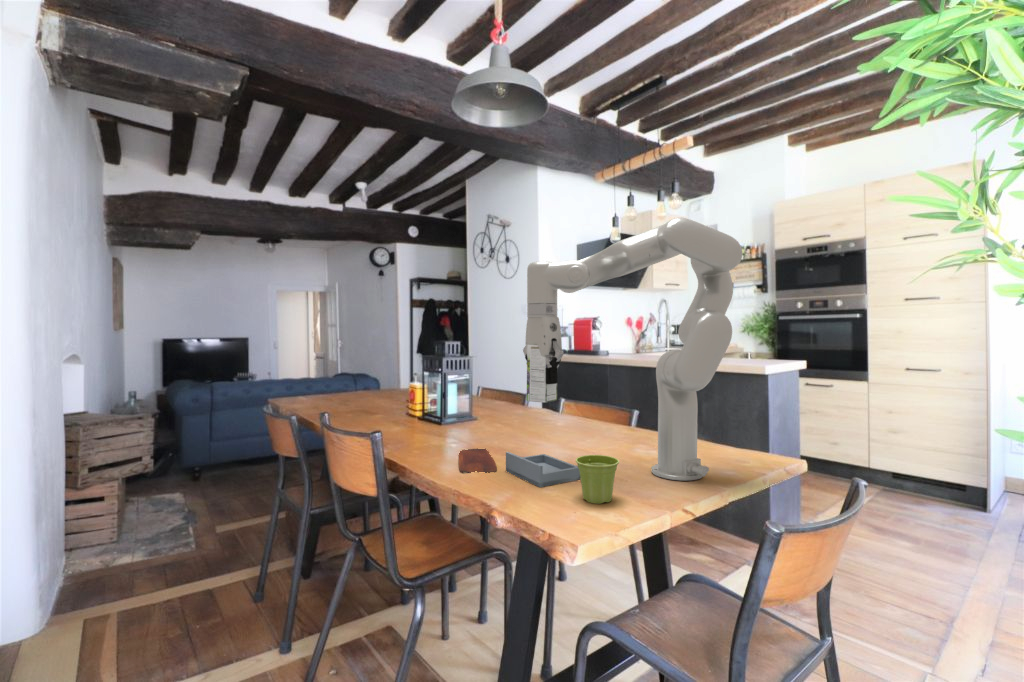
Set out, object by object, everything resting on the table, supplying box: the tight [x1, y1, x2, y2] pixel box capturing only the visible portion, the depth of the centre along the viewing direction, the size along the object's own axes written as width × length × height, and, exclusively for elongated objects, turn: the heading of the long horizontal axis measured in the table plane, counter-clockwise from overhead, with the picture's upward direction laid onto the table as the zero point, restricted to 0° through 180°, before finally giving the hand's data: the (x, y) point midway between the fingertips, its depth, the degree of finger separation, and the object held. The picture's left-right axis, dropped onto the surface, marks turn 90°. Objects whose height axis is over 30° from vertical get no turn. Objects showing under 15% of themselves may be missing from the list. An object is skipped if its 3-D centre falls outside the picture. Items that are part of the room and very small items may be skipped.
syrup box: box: [526, 344, 559, 404], centre depth 128 cm, size 6×6×14 cm
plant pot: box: [575, 454, 620, 505], centre depth 111 cm, size 9×9×9 cm
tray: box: [505, 451, 581, 488], centre depth 129 cm, size 16×12×5 cm
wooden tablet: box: [458, 448, 498, 474], centre depth 144 cm, size 27×10×2 cm, turn 7°
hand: (542, 381), depth 128 cm, fingers closed on syrup box, 7 cm apart
